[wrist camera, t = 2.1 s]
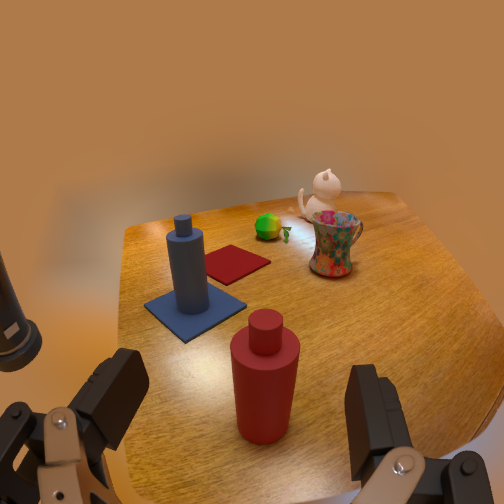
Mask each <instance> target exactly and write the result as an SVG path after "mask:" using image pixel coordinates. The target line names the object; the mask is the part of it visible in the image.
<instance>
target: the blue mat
mask: <svg viewBox="0 0 504 504" xmlns="http://www.w3.org/2000/svg"><path fill="white" fill-rule="evenodd" d="M207 284H208V293H209V302H210V304H209V307H208V308H207V309H206V310H205V311H204V312H202V313H199V314H194V315H189V314H184V313H182V312H180V311H179V310H178V308H177V303H176V297H175V292H174V290H173V291H171V292H169V293H167V294H165V295H163V296H160V297H158V298H156V299H154V300H152V301H150V302H147V303H145V304H144V307H145V308H146V309H148V310H149V311H150V312H151V313H152V314H153V315H154V316H155V317H156V318H157V319H158V320H159V321H160V322H162V323H163V324H164V325H165V326H166V327H167V328H168V329H169V330H170V331H172V332H173V333H174V334H175V335H176V336H177V337H178V338H179V339H181V340H182V341H183V342H184V343H187V342H189V341H190V340H192V339H194V338H196V337H197V336H199V335H201V334H203V333H204V332H206V331H208V330H209V329H211V328H213V327H214V326H216V325H218V324H220V323H221V322H223V321H225V320H226V319H228V318H230V317H231V316H233V315H235V314H236V313H238V312H240V311H241V310H243V309H245V308H246V307H247V304H245V303H243V302H241V301H239V300H238V299H236V298H234V297H232V296H231V295H229V294H227V293H225V292H224V291H222V290H220V289H218V288H217V287H215V286H213V285H211V284H210V283H208V282H207Z"/></svg>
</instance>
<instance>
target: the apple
mask: <svg viewBox="0 0 504 504" xmlns="http://www.w3.org/2000/svg"><path fill="white" fill-rule="evenodd" d="M281 228H283V230H284V236H285V240H286V243H287V240H288V237H289V233H288V232H287V231H286V230H288V231H290V230H291V228H292V227H282V226H281V223H280V220H279V217H277V216H275V215H273V214H271V213H268V214H265V215H262V216H260V217H259V218H258V219H257V221H256V223H255V229H256V232H257V236H259V237H261V238H263V239H265V240H270V239H273V238H276V237H277V236H278V234H279V233H280V231H281ZM285 229H286V230H285Z"/></svg>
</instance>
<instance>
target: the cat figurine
mask: <svg viewBox="0 0 504 504" xmlns="http://www.w3.org/2000/svg"><path fill="white" fill-rule="evenodd" d="M313 191H314V193H315V194H314V195H313V196H312V197H311V198H310V199H309V201H308V203H307V205H306V208H305V209H304V206H303V194H304V189H303V188H302V189H300V191H299V194H298V205H299V209H300V211H301V213H302V214H303V215H304V216H305V217H306V218H307V219H308V220H309V221H310V222H312V220H311V215H312V214H313V213H315V212H318V211H325V210H332V211H336V210H337V209H336V203H335V201H334V198H336V197H337V196H338V195H339V194H340V193H341V191H342V187H341V183H340V181H339V180H338V178H336V176H335V175H334V174H332V173H331V169H328V170H326V171H325V172H321V173H319V174H317V175H316V177H315V179H314V182H313Z"/></svg>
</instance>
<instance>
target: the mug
mask: <svg viewBox="0 0 504 504" xmlns="http://www.w3.org/2000/svg"><path fill="white" fill-rule="evenodd" d="M311 220H312V223H313V226H314V230H315V235H316V246H315V251H314V254H313V257H312V258H311V260H310V263H309V264H310V267H311V268H312V269H313V270H314V271H315V272H317V273H319V274H321V275H325V276H331V277H338V276H343V275H346V274H348V273H349V272H350V271H351V269H352V265H351V262H350V247H351V246H352V245H353V244H354V243H355V242H356V241H357V240H358V238H359V237H360V235H361V233H362V230H363V223H362V222H361V221H360V219H359V218H358V217H356V216H354V215H352V214H349V213H346V212H341V211H332V210H325V211H318V212H315V213H313V214H312V215H311ZM359 225H360V230H359V232H358V234H357V235H356V237H355V238H354V240H353V241H352V239H353V236H354V234H355V232H356V230H357V228H358V226H359Z"/></svg>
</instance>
